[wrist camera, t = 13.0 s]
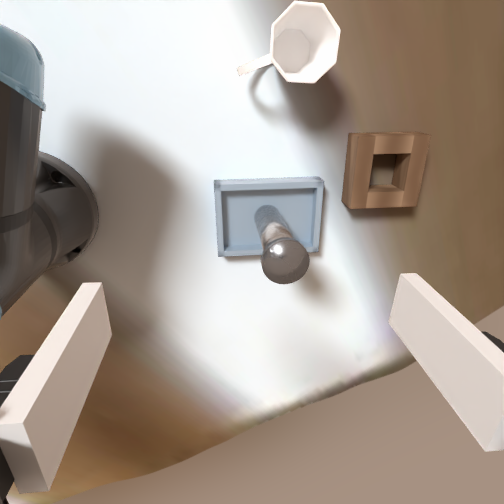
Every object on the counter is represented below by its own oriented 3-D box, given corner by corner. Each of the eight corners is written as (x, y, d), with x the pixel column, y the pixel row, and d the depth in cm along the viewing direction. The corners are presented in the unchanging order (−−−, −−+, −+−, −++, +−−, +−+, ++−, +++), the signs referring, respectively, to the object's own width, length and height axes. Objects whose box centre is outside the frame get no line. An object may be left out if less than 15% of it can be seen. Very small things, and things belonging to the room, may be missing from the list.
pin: (247, 203, 46) (259, 245, 33) (282, 197, 46) (307, 237, 33) (252, 236, 48) (265, 287, 35) (286, 230, 48) (311, 279, 35)
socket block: (341, 201, 48) (350, 208, 44) (348, 133, 44) (358, 136, 40) (403, 198, 48) (416, 206, 45) (416, 131, 44) (431, 134, 41)
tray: (218, 249, 49) (218, 256, 47) (214, 180, 45) (213, 184, 42) (313, 244, 50) (318, 251, 48) (318, 176, 46) (324, 181, 44)
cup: (325, 73, 40) (348, 69, 33) (246, 104, 41) (252, 107, 34) (309, 5, 37) (331, -15, 30) (225, 40, 38) (226, 28, 31)
